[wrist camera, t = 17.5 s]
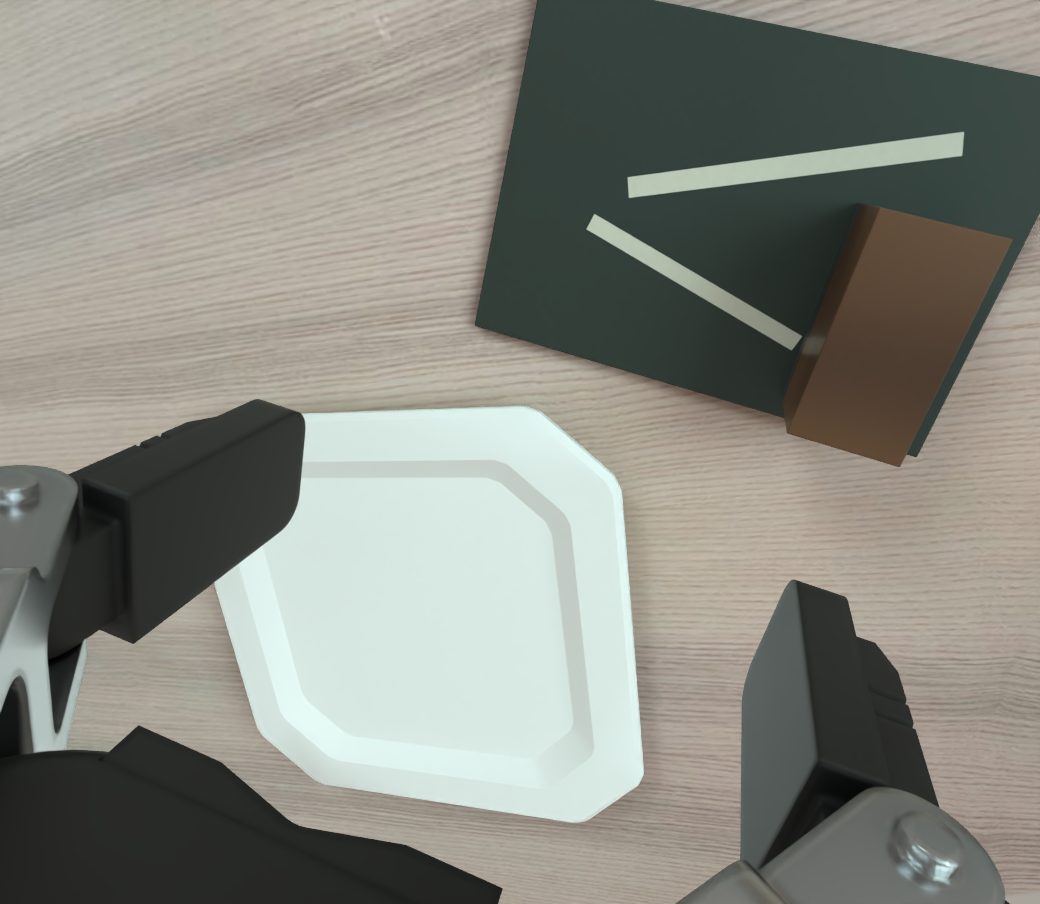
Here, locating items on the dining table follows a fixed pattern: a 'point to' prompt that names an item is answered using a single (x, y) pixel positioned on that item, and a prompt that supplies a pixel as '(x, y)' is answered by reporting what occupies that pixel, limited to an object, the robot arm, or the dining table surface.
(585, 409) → the dining table surface
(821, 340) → the eraser
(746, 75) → the chalkboard
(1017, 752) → the dining table surface
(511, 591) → the plate
